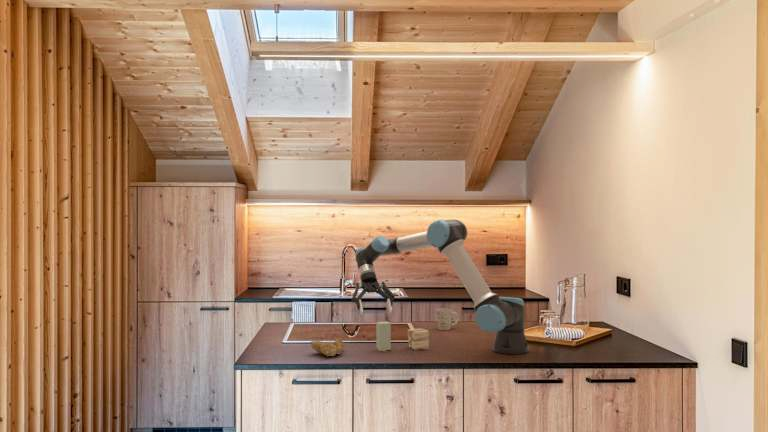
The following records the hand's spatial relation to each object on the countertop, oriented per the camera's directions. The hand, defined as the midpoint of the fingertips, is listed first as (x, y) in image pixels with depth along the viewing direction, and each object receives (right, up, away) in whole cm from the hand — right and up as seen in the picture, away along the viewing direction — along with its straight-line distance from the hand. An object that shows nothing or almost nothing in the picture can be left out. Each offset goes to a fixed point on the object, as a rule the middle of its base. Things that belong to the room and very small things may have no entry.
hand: (376, 312), depth 280 cm
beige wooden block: (+19, -15, -6) cm, 25 cm away
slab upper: (+19, -11, -6) cm, 22 cm away
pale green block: (+3, -15, -10) cm, 18 cm away
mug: (+36, -14, +38) cm, 54 cm away
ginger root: (-20, -15, -17) cm, 30 cm away
